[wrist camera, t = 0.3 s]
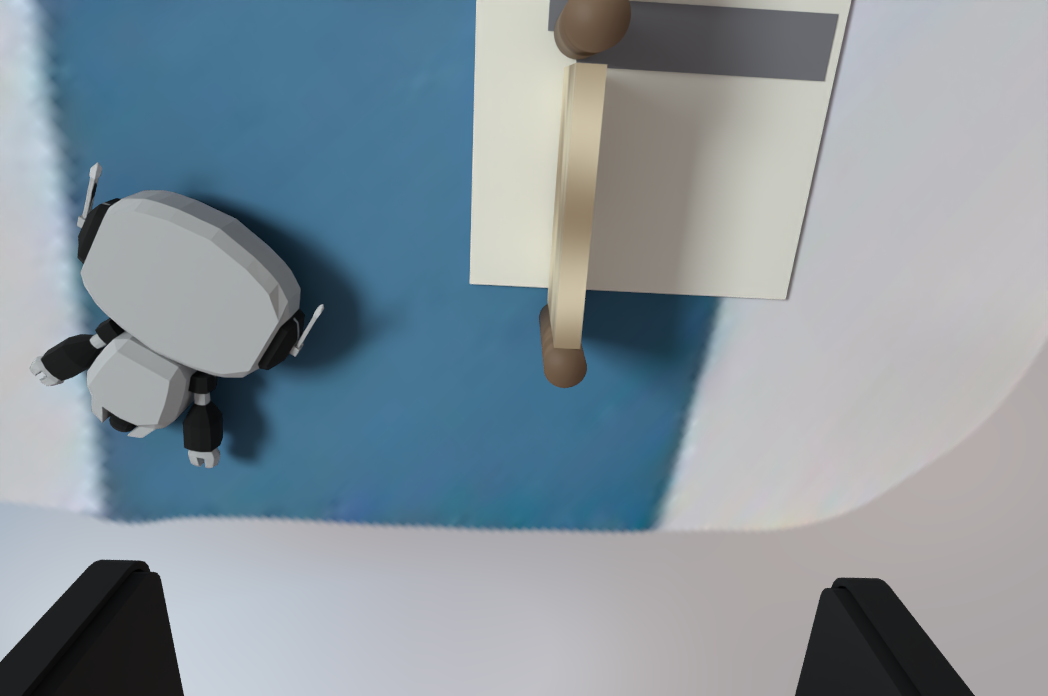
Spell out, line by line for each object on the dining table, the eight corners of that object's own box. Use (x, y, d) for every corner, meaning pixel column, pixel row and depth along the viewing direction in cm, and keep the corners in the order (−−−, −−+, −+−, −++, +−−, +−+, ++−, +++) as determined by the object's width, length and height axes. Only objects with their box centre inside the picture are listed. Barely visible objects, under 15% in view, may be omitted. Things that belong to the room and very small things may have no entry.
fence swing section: (556, 66, 31) (566, 62, 25) (596, 69, 31) (617, 65, 25) (538, 333, 37) (542, 386, 30) (572, 335, 37) (584, 388, 30)
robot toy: (238, 451, 41) (351, 274, 36) (204, 496, 37) (325, 305, 32) (53, 349, 39) (143, 140, 33) (-6, 385, 35) (86, 154, 29)
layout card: (486, -390, 26) (485, -397, 25) (926, -355, 26) (931, -360, 26) (470, 282, 36) (469, 284, 36) (783, 297, 37) (785, 300, 36)
